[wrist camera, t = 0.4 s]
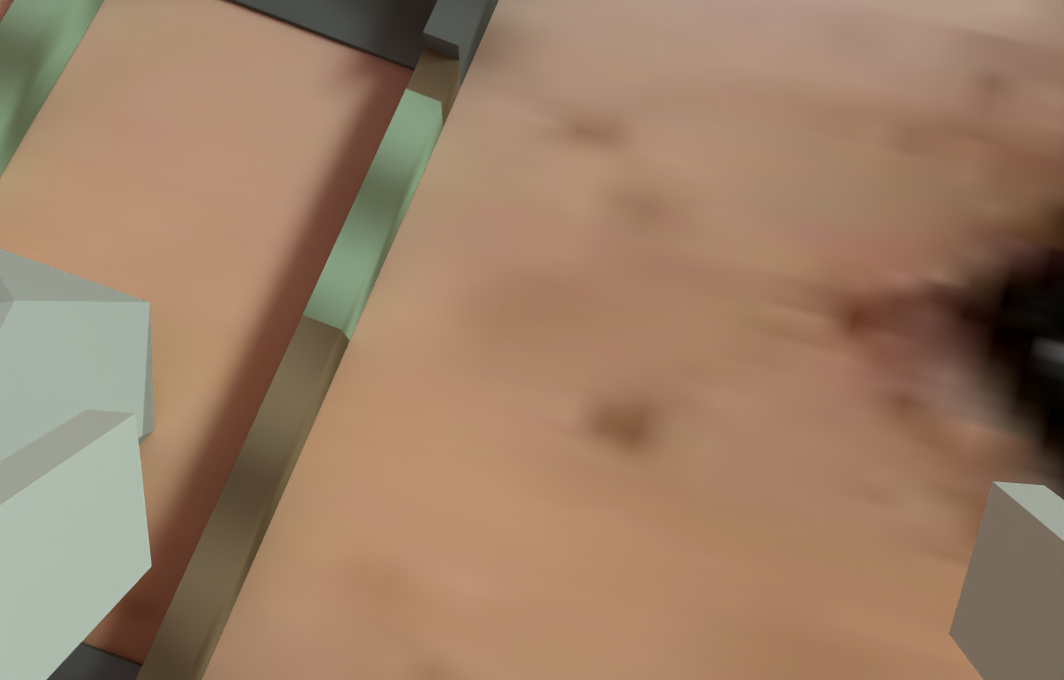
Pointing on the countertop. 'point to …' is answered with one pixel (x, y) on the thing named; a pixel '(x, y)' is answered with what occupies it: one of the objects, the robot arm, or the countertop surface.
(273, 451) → the trap channel
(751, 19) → the countertop surface
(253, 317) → the countertop surface
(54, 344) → the die
